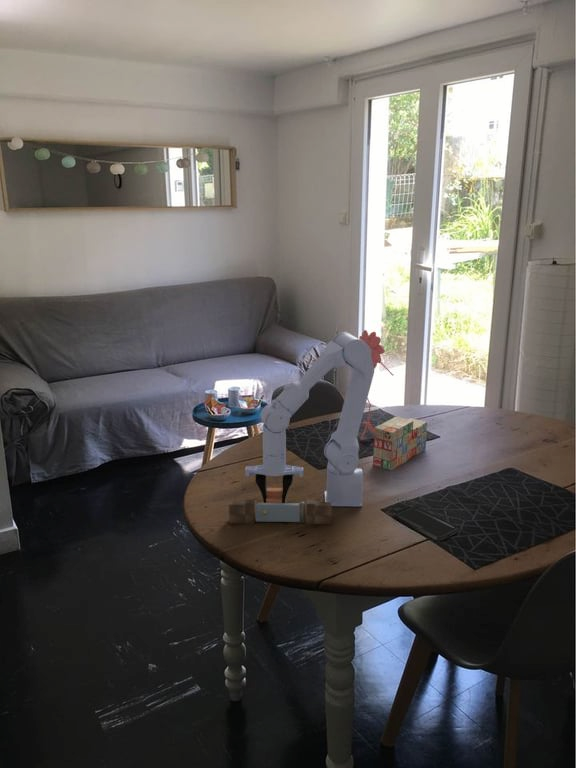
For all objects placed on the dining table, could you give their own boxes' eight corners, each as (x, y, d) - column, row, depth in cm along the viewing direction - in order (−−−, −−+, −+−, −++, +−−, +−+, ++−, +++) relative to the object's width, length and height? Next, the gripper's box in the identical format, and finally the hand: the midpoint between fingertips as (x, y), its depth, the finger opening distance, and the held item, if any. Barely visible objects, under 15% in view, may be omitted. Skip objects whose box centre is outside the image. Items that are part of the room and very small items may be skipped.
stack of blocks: (408, 444, 204) (410, 408, 201) (425, 449, 200) (428, 412, 197) (372, 465, 189) (374, 426, 185) (390, 471, 185) (392, 431, 181)
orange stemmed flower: (376, 449, 200) (383, 340, 191) (325, 425, 220) (329, 326, 211) (411, 439, 209) (419, 335, 199) (358, 418, 229) (363, 322, 219)
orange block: (282, 505, 164) (282, 487, 163) (281, 516, 158) (281, 498, 157) (267, 505, 164) (266, 487, 163) (265, 516, 158) (265, 498, 157)
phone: (412, 504, 163) (460, 528, 151) (412, 508, 163) (459, 532, 152) (391, 513, 158) (438, 538, 147) (390, 517, 159) (437, 542, 147)
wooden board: (330, 520, 156) (331, 500, 155) (331, 524, 155) (331, 504, 153) (230, 519, 157) (229, 499, 155) (229, 523, 155) (228, 502, 153)
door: (304, 519, 156) (305, 501, 155) (304, 523, 154) (305, 505, 153) (255, 519, 156) (255, 500, 155) (255, 523, 155) (255, 504, 153)
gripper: (303, 446, 161) (302, 494, 165) (246, 445, 161) (247, 494, 165) (303, 457, 154) (302, 507, 158) (244, 456, 155) (245, 506, 159)
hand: (274, 501), depth 161 cm, fingers closed on orange block, 4 cm apart
